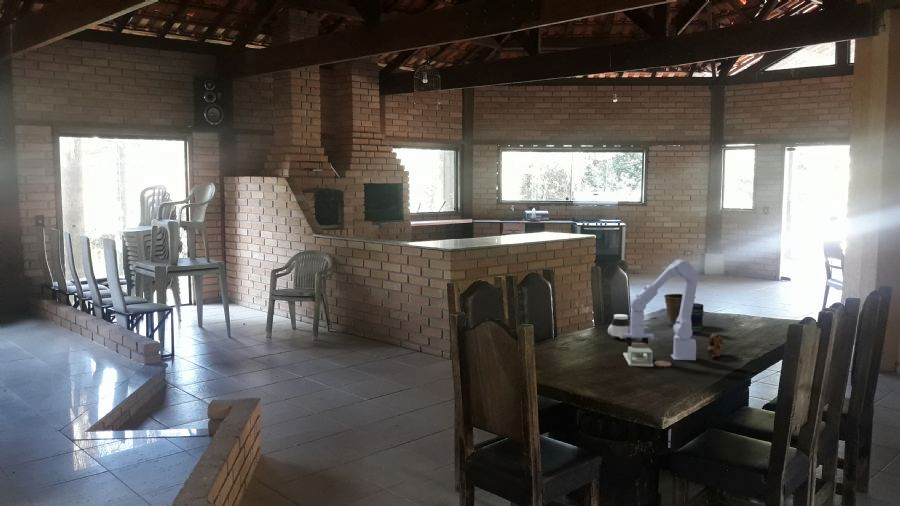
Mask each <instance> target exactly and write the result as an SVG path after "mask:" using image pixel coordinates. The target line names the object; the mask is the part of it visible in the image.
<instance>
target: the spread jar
mask: <svg viewBox="0 0 900 506" xmlns="http://www.w3.org/2000/svg"><path fill="white" fill-rule="evenodd" d="M630 327H631V321H630V320H629V315H627V314H622V313H621V314H620V313H618V314H617V313H616V314H613V319H612V321H611V324H610V325H609V326H608V328H607V334H609V335H610V336H611V337H612V338H613V339H614V340H620V341H624V340H625V338H620V333H630ZM625 341H626V340H625Z"/></svg>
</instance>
